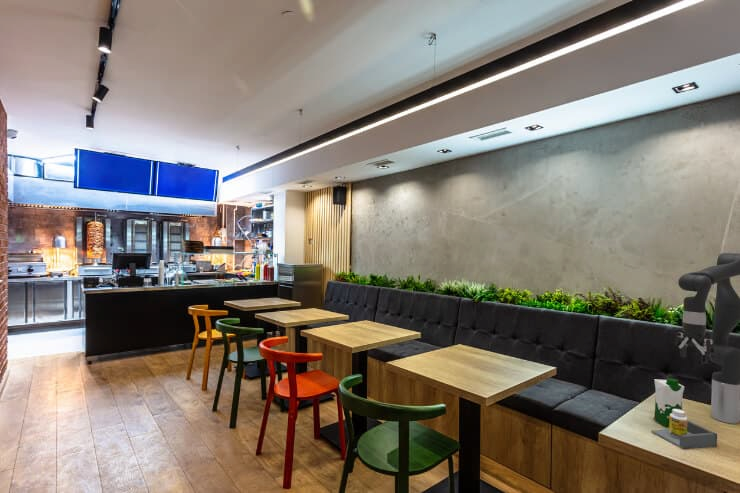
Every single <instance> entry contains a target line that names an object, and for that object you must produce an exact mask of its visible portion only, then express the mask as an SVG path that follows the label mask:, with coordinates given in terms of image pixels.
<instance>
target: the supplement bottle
mask: <svg viewBox="0 0 740 493" xmlns="http://www.w3.org/2000/svg"><path fill="white" fill-rule="evenodd" d="M687 420H688V416H687V417H686V411H684V410H683V409H682V410H679V409H672V413H671V414H670V421H669V427H668V429H669V433H670V435H672V436H673V437H676V438H680V435H687Z"/></svg>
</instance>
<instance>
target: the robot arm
mask: <svg viewBox="0 0 740 493" xmlns="http://www.w3.org/2000/svg"><path fill="white" fill-rule="evenodd" d="M737 276H740V253H736V252H733V253H731V252H729V253H728V252H722V253H720V254H719V255H718V257H717V260H716V265H711V266H708V267H706V268H703V269H700V270H699V271H694V272H687V273H685V274H683V275H681V276H680V277H679V278H678V281H677V282H678V283H677V284H678V286H679V288H680V289H681V290H682V291H687V292H696V294H695V295H694V296H687V297H685V298H683V312H682V332H681V331H679V332H675V336H674V337H675V338H674V345H675V346H676V347H678V349H679V356H680V357H681V358H687V347H689V346H690V347H691V346H692V347H694V348H697V350H699V351H700V353H701V355H700V356H701V358H700V359H701V360H700V362H701V364H705V365H707V364H708V363H709V360H710V361H711V362H712V363H715V364H717V365H720V366H722V369H721V371H714V372H713V373H712V374H711V402H710V417H711V418H712V419H714V420H716V421H720V422H723V423H728V424H732V425H733V424H735V425H736V424H739V422H740V349H739V348H736V347H734V346H729V345H728V342H729V337H730V334H731V332H732V331H733V330H734V329H735V328H736V327H737V325H738V324H739V323H740V296H739V295H738V293H737V292H736V291H735V289H734V287H733V285H732V283H731V278H732V277H737ZM715 284H716V293H715V301H714V302H715V303H714V310H713V311H714V313H713V324H712V332H711V336H710V338H709V339H708V338H706V334H707V316H706V302H707V300H708V296H709V294H710V291H711V290H712V285H715ZM683 339H684V340H683Z"/></svg>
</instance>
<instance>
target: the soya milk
mask: <svg viewBox="0 0 740 493" xmlns="http://www.w3.org/2000/svg"><path fill="white" fill-rule="evenodd" d="M653 380H654V387H655V396H654V397H655V399H654V401H655V402H654V416H653V420H654V421H655V422H657V423H659V424H660V425H661V426H663V427H664V428H666V427H667V428H669V421H670V414H671V413H672V409H679V410H682V411H683V394H684V391H685V386H684V385H682V384H680V383H679V379H677V378H673V377H672V378H671V377H667V378H666V379H653Z"/></svg>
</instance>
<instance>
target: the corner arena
mask: <svg viewBox="0 0 740 493" xmlns="http://www.w3.org/2000/svg"><path fill="white" fill-rule="evenodd" d="M650 431H651V433H652V434H653V435H655V436H657V437H659V438H661V439H663V440H664V441H667V442H668V443H670V444H672V445H674V446H676V447H678V448H680V449H682V450H688V449H689V450H691V449H701V448H713V447H717V446H718V433H716V432H714V431H712V430H710V429H708V428H705V427H704V426H701V425H699V424H696V423H694V422H692V421H691V420H690V421H689V420H688V419H687V435H680V438H676V437H673V436H672V435H670V433H669V428H666V429H654V430H650Z"/></svg>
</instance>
